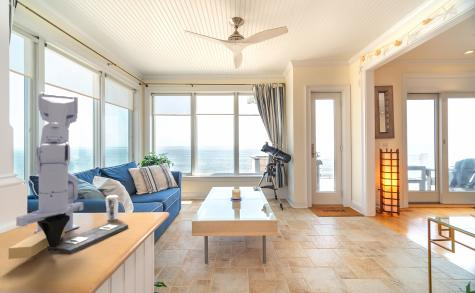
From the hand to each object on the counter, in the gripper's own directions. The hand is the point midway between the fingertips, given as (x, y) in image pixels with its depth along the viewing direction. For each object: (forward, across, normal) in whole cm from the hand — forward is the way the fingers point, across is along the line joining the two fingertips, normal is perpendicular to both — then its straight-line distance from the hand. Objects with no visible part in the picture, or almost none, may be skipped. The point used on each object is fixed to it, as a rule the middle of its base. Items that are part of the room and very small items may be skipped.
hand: (53, 246), depth 58 cm
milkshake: (+3, +28, +9) cm, 30 cm away
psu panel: (+2, +12, +1) cm, 12 cm away
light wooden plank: (0, +1, +5) cm, 5 cm away
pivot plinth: (+2, +7, +8) cm, 11 cm away
